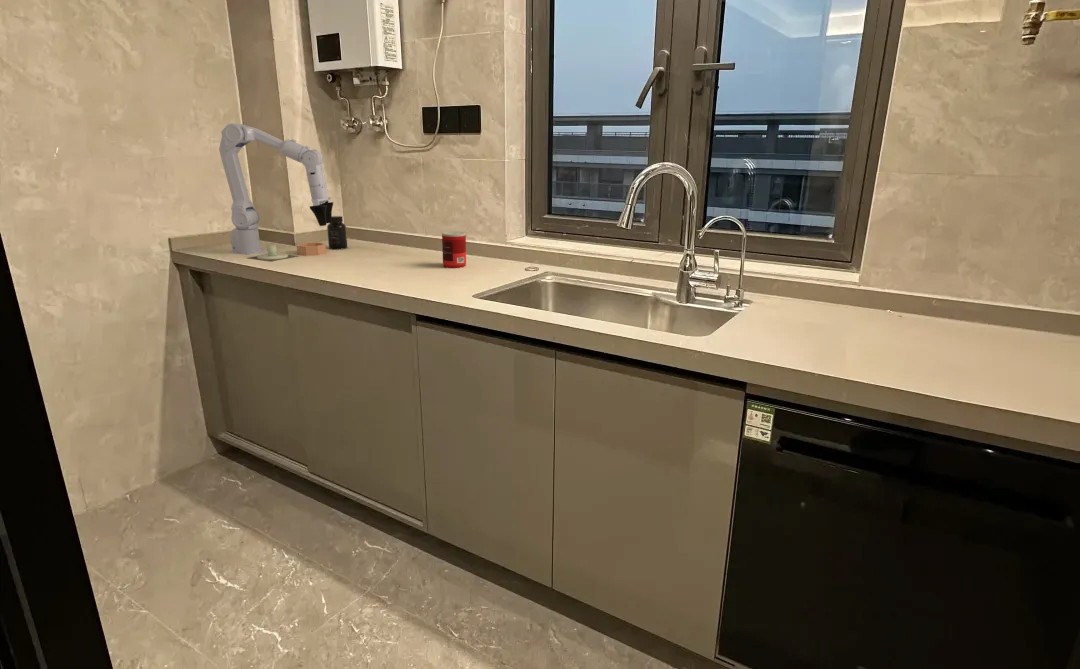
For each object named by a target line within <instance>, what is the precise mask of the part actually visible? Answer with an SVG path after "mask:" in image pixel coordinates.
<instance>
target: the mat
mask: <svg viewBox="0 0 1080 669" xmlns="http://www.w3.org/2000/svg"><path fill="white" fill-rule="evenodd" d="M257 256H258V255H256V256H250V257H246V259H248V260H249V259H250V260H255V261H261V262H262V261H264V262H277V261H281V260H287V259H293V258H297V257H298V258H299V256H300V255H291V254H288V257H287V258H283V259H275V260H262V259H257Z"/></svg>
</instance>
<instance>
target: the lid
mask: <svg viewBox="0 0 1080 669" xmlns="http://www.w3.org/2000/svg"><path fill="white" fill-rule="evenodd" d="M266 247H267V250H266V251H267V253H263V254H259V255H256V256H257V259H262V260H275V259H283V258H287V257H288V255H289V254H287V253H283V252H281V253H280V252H279V253H278V251H277V245H275V244H268V245H266ZM262 260H261V261H262ZM283 260H284V259H283Z"/></svg>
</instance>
